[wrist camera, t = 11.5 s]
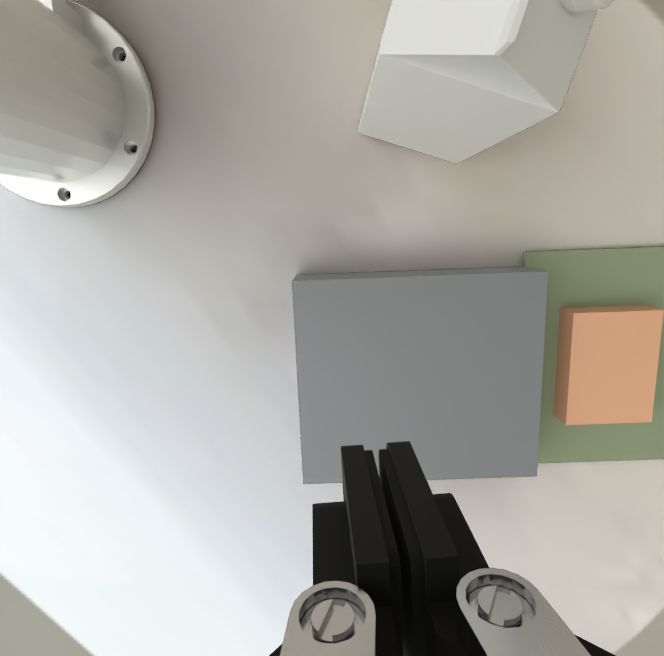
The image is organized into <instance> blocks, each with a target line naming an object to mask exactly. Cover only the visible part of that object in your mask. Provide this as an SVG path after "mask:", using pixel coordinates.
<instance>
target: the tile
mask: <svg viewBox="0 0 664 656" xmlns="http://www.w3.org/2000/svg"><path fill="white" fill-rule="evenodd" d="M663 314H664V310H662V309H658V308H654V307H650V306H646V305H636V306H609V307H582V308H560V312H559V328H558V344H557V360H556V376H555V392H554V407H553V415H555V416H556V417H557V418H558V419H559V420H560V421H562V422H563V423H564V424H565V425H584V424H613V423H643V422H652V415H653V406H654V396H655V387H656V378H657V369H658V360H659V351H660V341H661V332H662V323H663Z"/></svg>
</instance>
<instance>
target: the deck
mask: <svg viewBox="0 0 664 656" xmlns="http://www.w3.org/2000/svg"><path fill="white" fill-rule="evenodd" d="M547 286H548V271H544V270H539V269H535V268H530V267H525V266H514V267H487V268H461V269H435V270H409V271H382V272H356V273H330V274H303V275H296V276H295V278H294V279H293V280H292V290H293V308H294V326H295V344H296V362H297V380H298V398H299V416H300V434H301V452H302V469H303V484H322V483H343V479H342V462H341V446H350V445H363V447H364V450H372V451H373V455H374V459H375V462H376V466H377V470H378V474H379V449H386V444H387V443H390V442H403V441H410V443H411V445H412V447H413V450H414V452H415V454H416V457H417V459H418V461H419V464H420V466H421V468H422V471H423V473H424V475H425V478H426V480H442V479H472V478H501V477H531V476H537V463H538V445H539V427H540V410H541V392H542V374H543V357H544V339H545V321H546V303H547Z"/></svg>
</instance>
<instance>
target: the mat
mask: <svg viewBox="0 0 664 656" xmlns="http://www.w3.org/2000/svg"><path fill="white" fill-rule="evenodd" d="M523 266H525V267H530V268H535V269H539V270H544V271H548V286H547V303H546V321H545V339H544V357H543V374H542V392H541V410H540V427H539V445H538V463H562V462H592V461H621V460H651V459H664V314H663V323H662V332H661V341H660V351H659V360H658V369H657V378H656V387H655V396H654V406H653V415H652V422H643V423H613V424H584V425H565V424H564V423H563V422H562V421H560V420H559V419H558V418H557V417H556V416H555V415H553V407H554V392H555V376H556V360H557V344H558V328H559V312H560V308H582V307H609V306H636V305H646V306H650V307H654V308H658V309H662V310H664V246H662V247H636V248H610V249H584V250H558V251H532V252H524V260H523Z"/></svg>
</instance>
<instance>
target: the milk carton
mask: <svg viewBox="0 0 664 656" xmlns="http://www.w3.org/2000/svg"><path fill="white" fill-rule="evenodd" d="M612 2H613V0H392V3H391V7H390V10H389V14H388V17H387V21H386V24H385V28H384V32H383V35H382V39H381V43H380V46H379V50H378V54H377V58H376V62H375V66H374V70H373V73H372V77H371V81H370V85H369V89H368V93H367V97H366V100H365V104H364V108H363V112H362V116H361V120H360V124H359V128H358V133H361V134H364V135H367V136H370V137H373V138H377V139H380V140H383V141H386V142H389V143H393V144H396V145H399V146H402V147H405V148H409V149H412V150H415V151H418V152H421V153H425V154H428V155H431V156H434V157H437V158H441V159H444V160H447V161H450V162H453V163H459V162H461V161H463V160H465V159H467V158H469V157H471V156H473V155H475V154H477V153H479V152H481V151H483V150H485V149H487V148H489V147H491V146H493V145H495V144H497V143H499V142H501V141H503V140H505V139H507V138H509V137H511V136H513V135H515V134H517V133H519V132H521V131H523V130H525V129H527V128H529V127H531V126H533V125H535V124H537V123H539V122H541V121H543V120H545V119H546V118H548V117H550V116H552V115H554V114H556V113H557V112H559V110H560V109H561V106H562V104H563V102H564V99H565V97H566V94H567V91H568V89H569V86H570V84H571V81H572V78H573V76H574V73H575V70H576V67H577V65H578V62H579V59H580V56H581V54H582V51H583V48H584V46H585V43H586V40H587V37H588V35H589V32H590V29H591V26H592V24H593V21H594V18H595V15H596V13H597V10H598V9H603V8H606V7H608V6H609V5H610V4H611V3H612Z"/></svg>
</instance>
